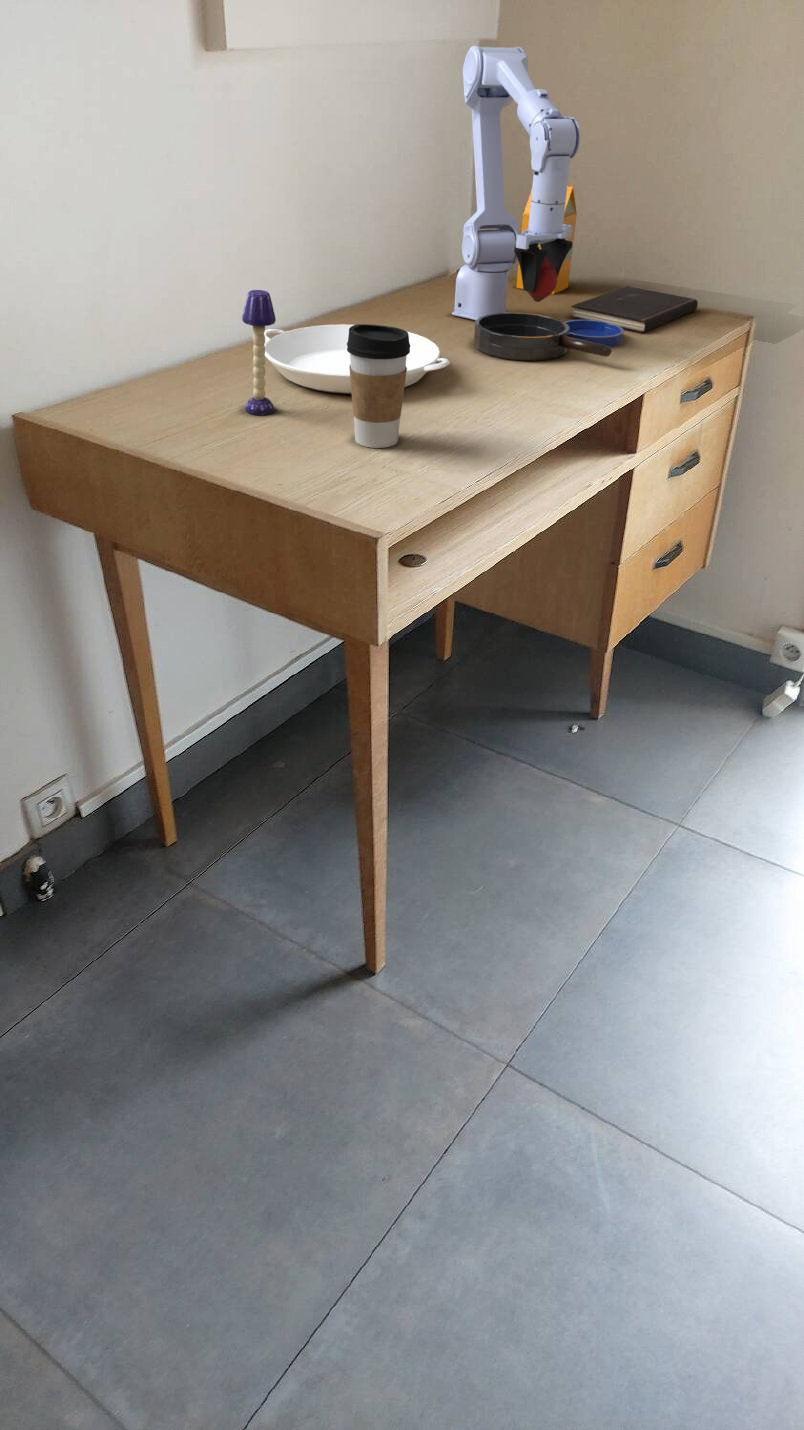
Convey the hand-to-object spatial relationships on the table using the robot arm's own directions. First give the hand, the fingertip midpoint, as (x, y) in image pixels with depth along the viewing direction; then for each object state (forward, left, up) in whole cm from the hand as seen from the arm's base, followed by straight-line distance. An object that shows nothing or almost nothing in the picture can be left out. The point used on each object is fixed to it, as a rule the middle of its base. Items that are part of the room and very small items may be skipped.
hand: (539, 288), depth 181 cm
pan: (-13, -35, -10) cm, 38 cm away
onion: (0, 0, -2) cm, 2 cm away
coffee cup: (+9, -56, -10) cm, 57 cm away
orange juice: (-22, +39, -10) cm, 46 cm away
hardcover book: (+3, +33, -10) cm, 35 cm away
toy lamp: (-11, -58, -10) cm, 60 cm away
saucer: (+5, +12, -10) cm, 16 cm away
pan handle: (+11, -3, -8) cm, 14 cm away
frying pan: (-1, -3, -10) cm, 10 cm away
